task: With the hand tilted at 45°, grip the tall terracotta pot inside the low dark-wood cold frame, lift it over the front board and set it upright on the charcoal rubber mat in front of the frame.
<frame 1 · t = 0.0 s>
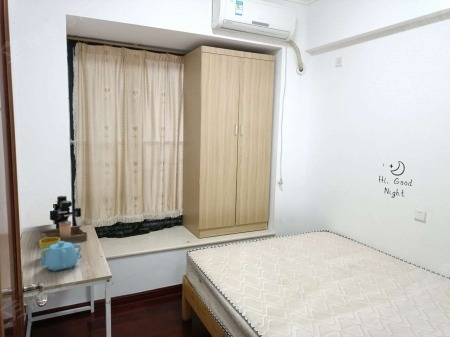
hand: (68, 216, 202), 17 cm above the table, tool horizontal, fingers open, 9 cm apart
potting mat: (69, 245, 195), on the table
decorative pot: (61, 267, 164), on the table
cold frame: (64, 239, 205), on the table
plant pot: (50, 256, 177), on the table
terracotta pot: (65, 241, 203), resting in cold frame
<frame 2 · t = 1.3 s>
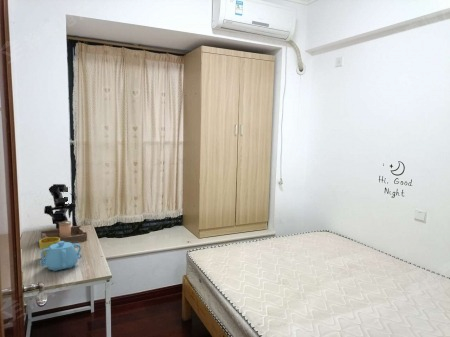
hand: (62, 218, 208), 13 cm above the table, tool tilted 45°, fingers open, 9 cm apart
nothing on the table moved.
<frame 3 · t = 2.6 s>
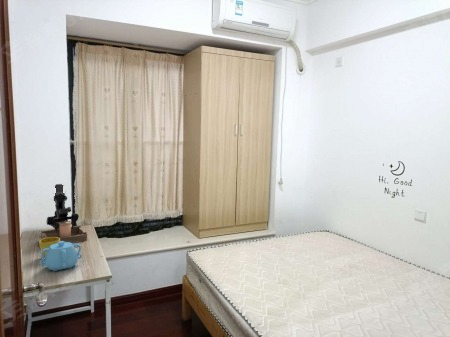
hand: (65, 229, 202), 8 cm above the table, tool tilted 45°, fingers open, 9 cm apart
nothing on the table moved.
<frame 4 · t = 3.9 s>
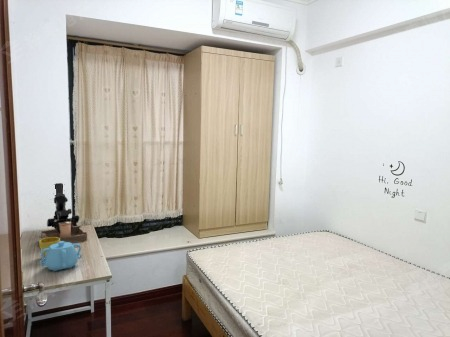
hand: (65, 231, 201), 7 cm above the table, tool tilted 45°, fingers closed on terracotta pot, 7 cm apart
terracotta pot: (65, 241, 203), resting in cold frame, touching gripper
everything else where it was.
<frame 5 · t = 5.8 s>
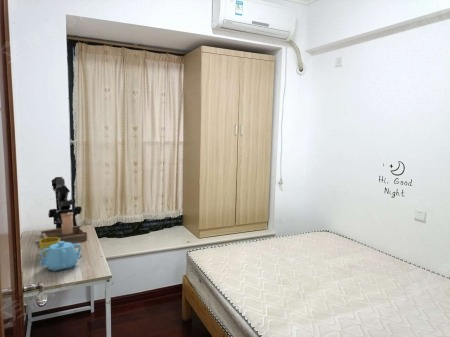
hand: (67, 222, 196), 14 cm above the table, tool tilted 45°, fingers closed on terracotta pot, 7 cm apart
terracotta pot: (67, 232, 198), point 7 cm above the table, touching gripper
everything else where it was.
when the fingers open (8 cm above the table, at t = 8.0 s): terracotta pot drops 1 cm, resting on potting mat.
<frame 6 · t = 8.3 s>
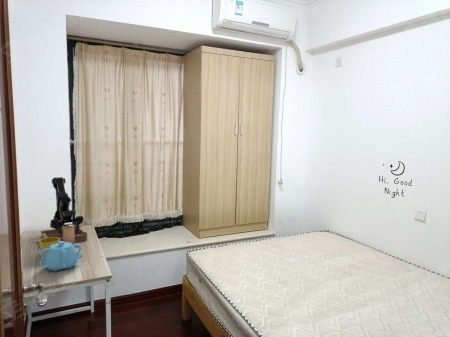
hand: (69, 233, 194), 8 cm above the table, tool tilted 45°, fingers open, 9 cm apart
terracotta pot: (69, 244, 196), resting on potting mat
everything else where it was.
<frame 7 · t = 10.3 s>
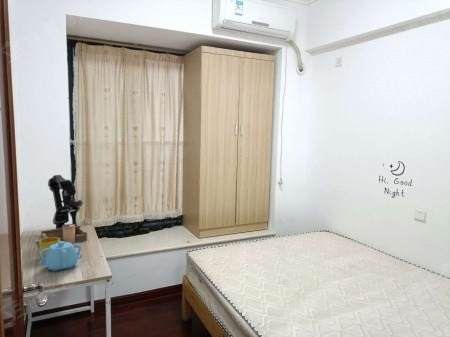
hand: (71, 221, 206), 12 cm above the table, tool tilted 20°, fingers open, 9 cm apart
nothing on the table moved.
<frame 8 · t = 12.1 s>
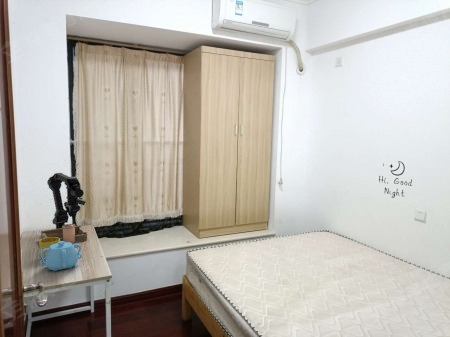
hand: (72, 218, 211), 13 cm above the table, tool pointing down, fingers open, 9 cm apart
nothing on the table moved.
at the end: terracotta pot inside the target area (0.7 cm from its centre), resting on potting mat; terracotta pot tilted 1°; the gripper is holding nothing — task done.
